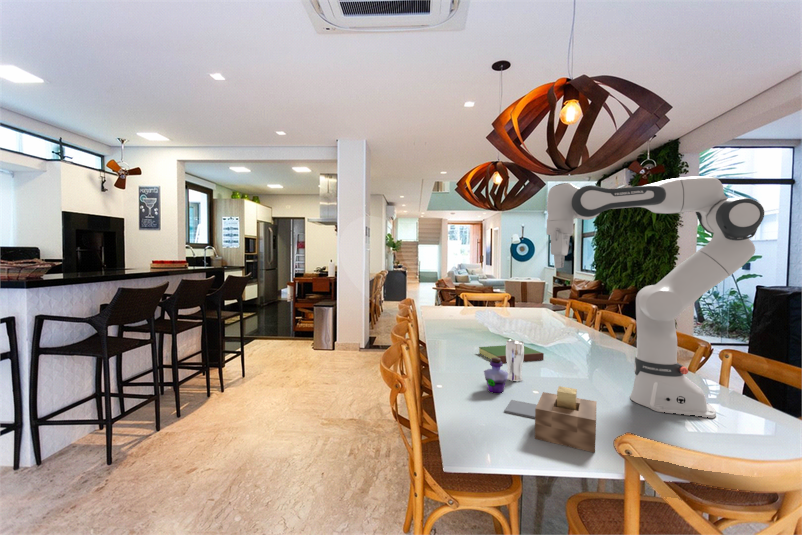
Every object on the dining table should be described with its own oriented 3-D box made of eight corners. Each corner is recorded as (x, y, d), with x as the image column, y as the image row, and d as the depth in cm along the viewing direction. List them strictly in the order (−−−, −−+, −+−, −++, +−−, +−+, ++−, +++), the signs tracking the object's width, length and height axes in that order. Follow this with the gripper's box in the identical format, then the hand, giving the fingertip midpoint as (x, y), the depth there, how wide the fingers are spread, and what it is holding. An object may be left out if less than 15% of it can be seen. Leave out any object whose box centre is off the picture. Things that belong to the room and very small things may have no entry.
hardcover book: (498, 364, 167) (498, 356, 167) (478, 354, 185) (478, 347, 185) (544, 361, 174) (544, 353, 174) (521, 351, 192) (521, 344, 192)
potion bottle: (481, 393, 129) (482, 359, 128) (485, 385, 137) (485, 354, 136) (507, 397, 126) (507, 362, 125) (509, 388, 134) (509, 356, 134)
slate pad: (543, 407, 117) (543, 405, 117) (538, 419, 108) (538, 417, 108) (511, 401, 122) (511, 399, 122) (504, 412, 113) (504, 410, 113)
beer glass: (524, 382, 140) (525, 344, 140) (505, 381, 142) (506, 343, 142) (522, 377, 147) (523, 340, 147) (504, 376, 149) (505, 339, 148)
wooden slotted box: (595, 429, 102) (596, 401, 102) (594, 452, 89) (595, 420, 89) (542, 418, 108) (543, 392, 108) (534, 438, 96) (535, 408, 96)
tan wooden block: (576, 418, 100) (576, 389, 100) (575, 424, 96) (575, 394, 96) (558, 414, 102) (558, 386, 102) (556, 420, 98) (557, 391, 98)
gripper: (566, 226, 121) (566, 268, 121) (571, 231, 138) (571, 267, 139) (546, 227, 124) (545, 268, 124) (554, 231, 142) (553, 267, 142)
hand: (559, 267), depth 131 cm, fingers open, 8 cm apart
